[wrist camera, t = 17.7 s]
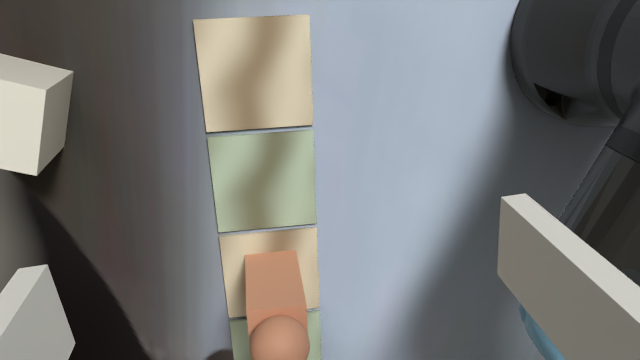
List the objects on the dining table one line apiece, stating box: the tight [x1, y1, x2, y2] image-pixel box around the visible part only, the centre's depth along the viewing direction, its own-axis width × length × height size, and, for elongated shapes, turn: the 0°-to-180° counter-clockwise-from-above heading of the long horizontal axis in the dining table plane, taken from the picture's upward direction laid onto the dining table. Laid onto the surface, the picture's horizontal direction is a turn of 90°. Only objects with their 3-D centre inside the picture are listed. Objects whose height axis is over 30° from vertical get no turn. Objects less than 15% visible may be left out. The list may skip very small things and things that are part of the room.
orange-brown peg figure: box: [245, 250, 310, 360], centre depth 41 cm, size 4×4×12 cm
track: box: [193, 15, 322, 360], centre depth 45 cm, size 8×36×1 cm, turn 2°
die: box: [0, 54, 74, 176], centre depth 36 cm, size 6×6×6 cm
